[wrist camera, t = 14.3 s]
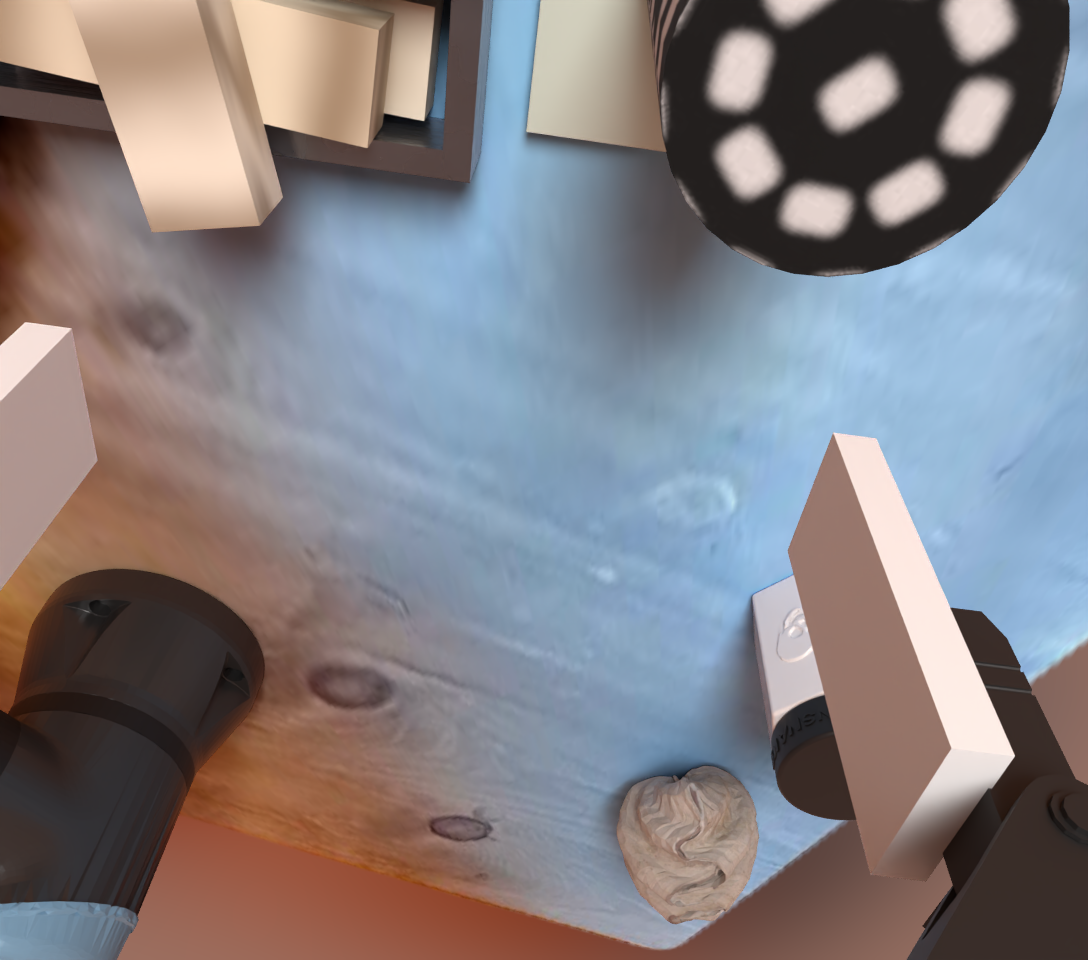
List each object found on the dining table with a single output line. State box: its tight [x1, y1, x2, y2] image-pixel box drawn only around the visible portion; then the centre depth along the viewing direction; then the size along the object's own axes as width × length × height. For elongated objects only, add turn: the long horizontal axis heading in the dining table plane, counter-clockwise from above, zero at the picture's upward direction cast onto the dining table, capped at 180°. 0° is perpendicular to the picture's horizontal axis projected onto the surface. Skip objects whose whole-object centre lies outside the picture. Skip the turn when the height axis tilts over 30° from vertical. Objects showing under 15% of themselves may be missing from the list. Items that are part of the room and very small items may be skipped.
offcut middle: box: [0, 0, 394, 148], centre depth 36 cm, size 15×4×3 cm, turn 78°
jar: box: [752, 575, 856, 820], centre depth 53 cm, size 9×8×12 cm
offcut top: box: [69, 0, 283, 232], centre depth 33 cm, size 12×4×3 cm, turn 5°
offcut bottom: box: [342, 0, 444, 121], centre depth 38 cm, size 18×4×3 cm, turn 80°
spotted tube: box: [647, 0, 1069, 277], centre depth 27 cm, size 8×8×20 cm
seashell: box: [617, 766, 759, 924], centre depth 66 cm, size 10×15×10 cm
